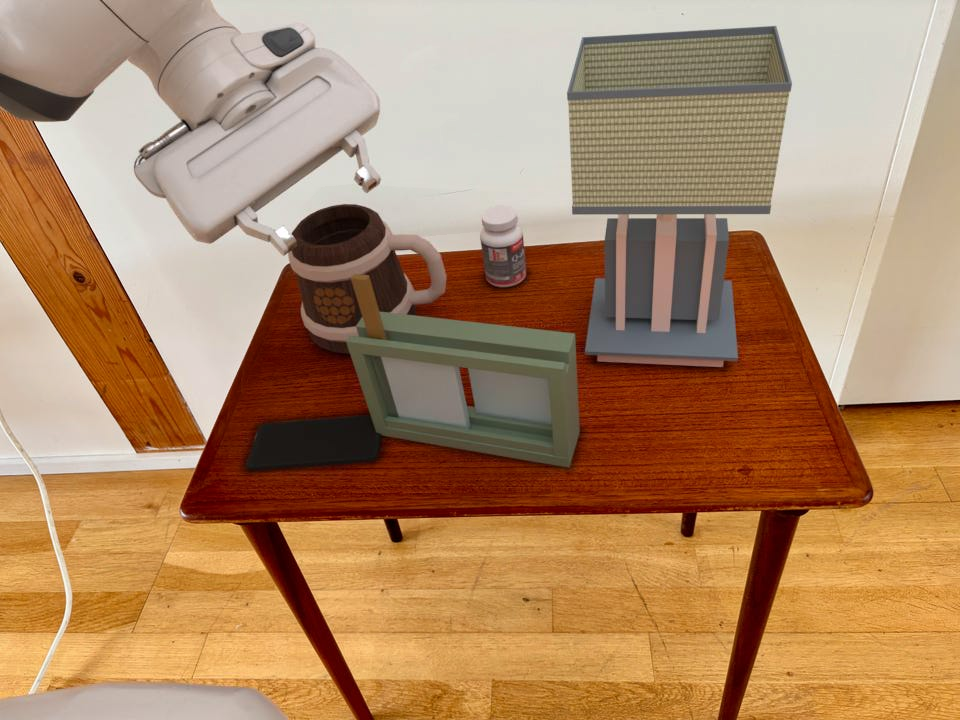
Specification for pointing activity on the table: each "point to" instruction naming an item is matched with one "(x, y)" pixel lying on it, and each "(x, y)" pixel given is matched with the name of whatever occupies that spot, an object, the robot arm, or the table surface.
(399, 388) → the window pane
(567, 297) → the table surface
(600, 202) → the desk lamp
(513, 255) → the pill bottle
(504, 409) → the window frame
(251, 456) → the smartphone
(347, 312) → the mug
